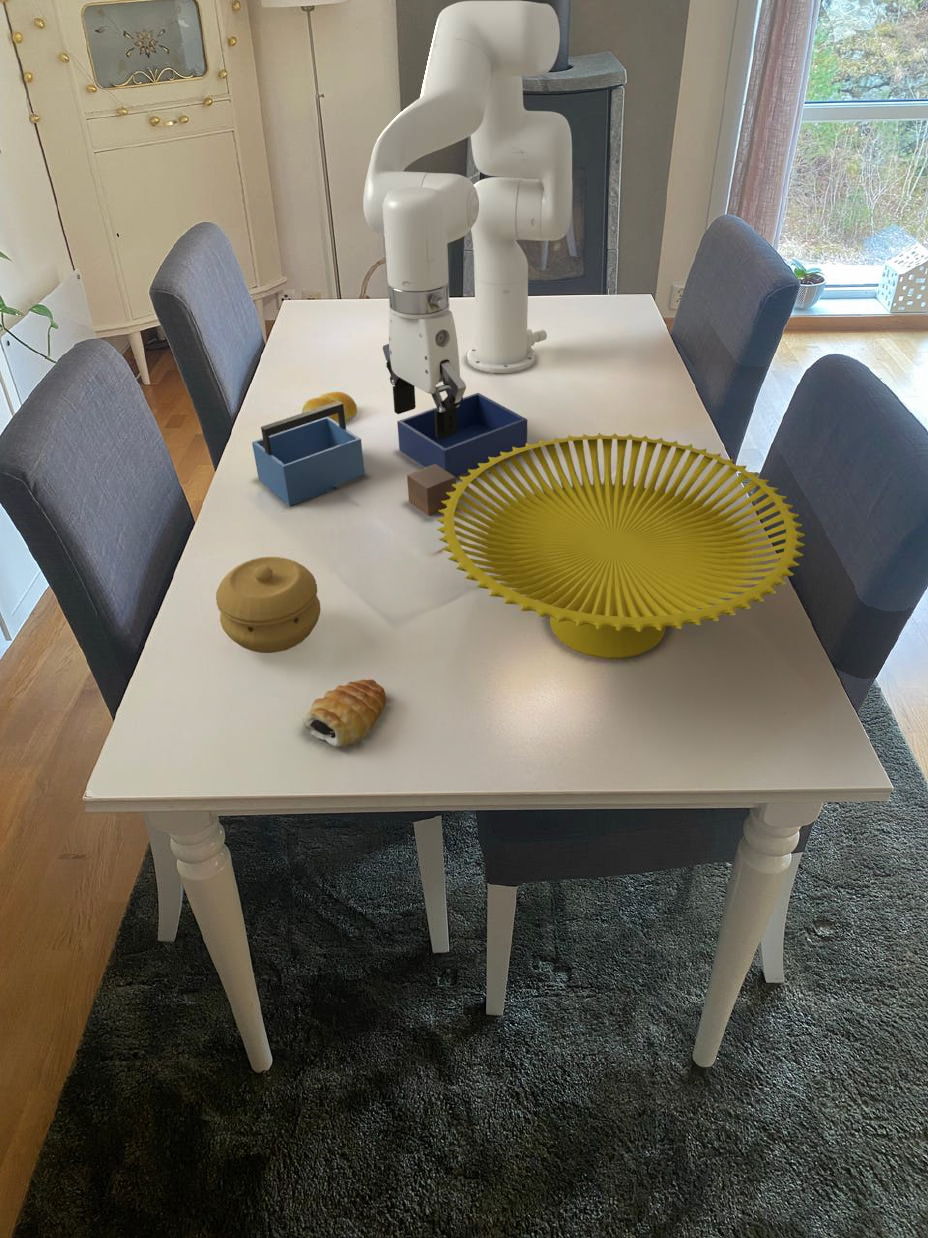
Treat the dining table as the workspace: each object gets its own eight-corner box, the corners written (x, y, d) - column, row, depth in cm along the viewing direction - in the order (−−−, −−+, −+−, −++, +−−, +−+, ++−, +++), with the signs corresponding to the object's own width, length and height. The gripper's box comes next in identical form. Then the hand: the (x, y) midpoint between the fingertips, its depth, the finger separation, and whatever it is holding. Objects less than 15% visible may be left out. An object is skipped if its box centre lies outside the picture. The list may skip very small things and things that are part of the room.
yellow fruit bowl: (806, 569, 122) (831, 466, 112) (739, 788, 93) (765, 674, 84) (516, 506, 135) (517, 410, 126) (381, 679, 107) (369, 572, 98)
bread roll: (366, 415, 160) (364, 393, 157) (325, 433, 155) (323, 411, 152) (334, 401, 164) (332, 379, 162) (294, 418, 159) (291, 396, 157)
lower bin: (478, 423, 156) (478, 392, 153) (527, 451, 148) (527, 419, 145) (399, 453, 149) (397, 421, 145) (445, 484, 141) (444, 450, 137)
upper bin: (332, 453, 149) (324, 391, 143) (365, 477, 143) (358, 413, 136) (258, 480, 143) (247, 416, 137) (289, 506, 137) (278, 440, 130)
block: (436, 493, 139) (435, 463, 136) (457, 507, 136) (456, 477, 133) (408, 504, 137) (406, 474, 133) (428, 519, 133) (427, 488, 130)
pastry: (356, 682, 107) (353, 657, 104) (403, 705, 104) (401, 680, 101) (299, 732, 101) (294, 706, 98) (347, 758, 98) (344, 732, 95)
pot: (221, 615, 117) (206, 549, 111) (315, 598, 119) (305, 532, 113) (230, 676, 108) (213, 607, 102) (331, 656, 110) (321, 587, 104)
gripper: (485, 308, 114) (486, 437, 124) (405, 273, 125) (412, 394, 135) (434, 323, 110) (440, 454, 120) (356, 285, 121) (367, 409, 132)
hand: (425, 423), depth 128 cm, fingers open, 9 cm apart
